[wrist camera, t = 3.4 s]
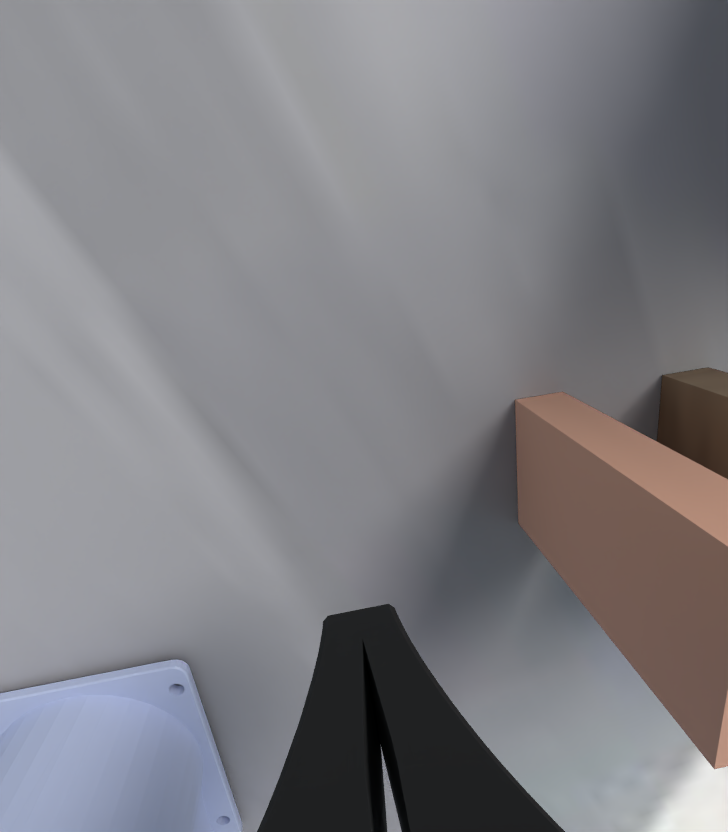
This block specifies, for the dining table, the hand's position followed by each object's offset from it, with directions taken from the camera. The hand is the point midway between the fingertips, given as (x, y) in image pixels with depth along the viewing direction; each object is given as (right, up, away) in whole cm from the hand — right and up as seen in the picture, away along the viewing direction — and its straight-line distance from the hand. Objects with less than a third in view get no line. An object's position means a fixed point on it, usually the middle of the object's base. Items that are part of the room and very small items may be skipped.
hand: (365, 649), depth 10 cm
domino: (+6, +3, +6) cm, 9 cm away
